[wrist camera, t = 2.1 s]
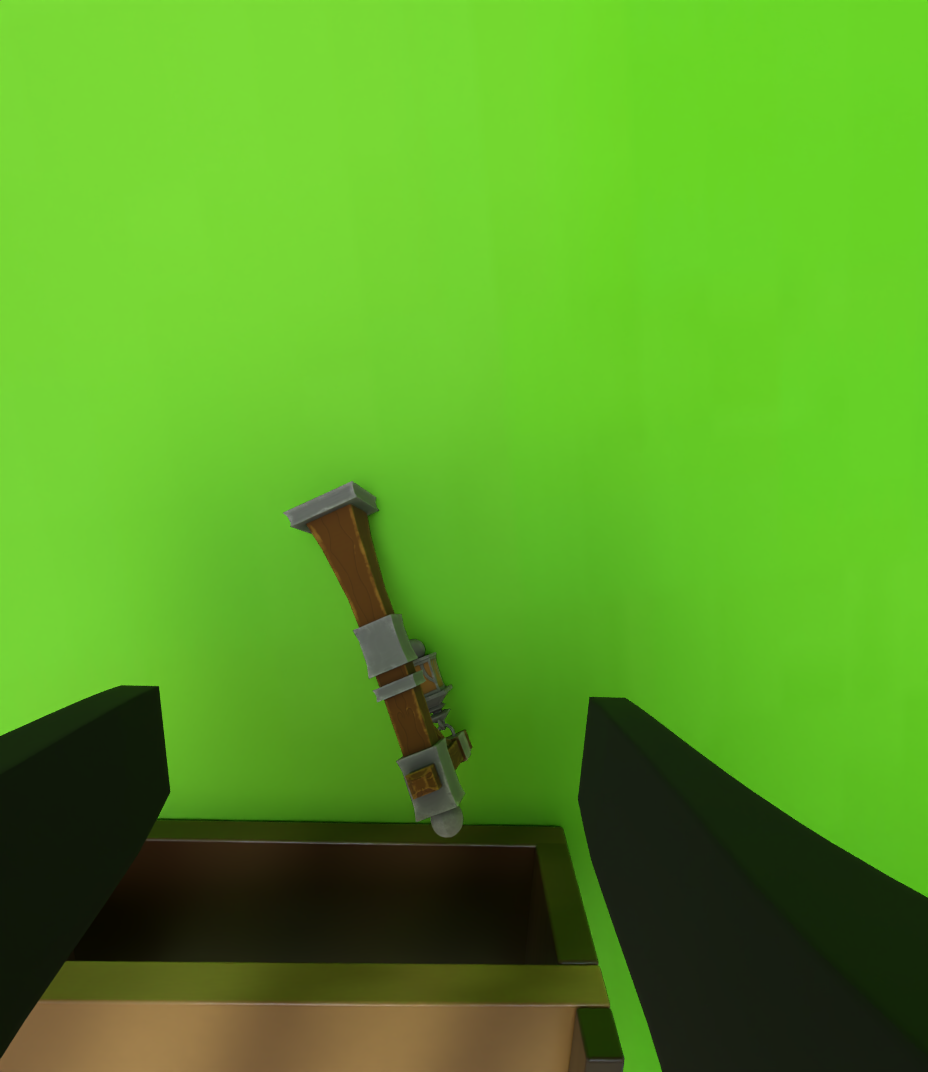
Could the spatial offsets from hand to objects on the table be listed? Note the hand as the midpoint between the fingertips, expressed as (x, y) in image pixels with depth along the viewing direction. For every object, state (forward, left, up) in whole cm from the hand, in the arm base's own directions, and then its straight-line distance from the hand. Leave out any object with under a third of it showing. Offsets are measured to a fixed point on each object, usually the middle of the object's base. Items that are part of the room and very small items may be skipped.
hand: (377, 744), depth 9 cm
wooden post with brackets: (0, 0, -6) cm, 6 cm away
